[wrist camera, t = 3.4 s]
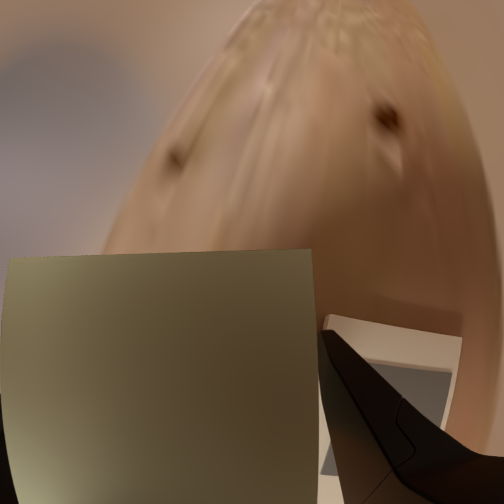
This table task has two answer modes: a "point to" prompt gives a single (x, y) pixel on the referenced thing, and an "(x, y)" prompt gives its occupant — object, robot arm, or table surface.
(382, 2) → the table surface
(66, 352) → the post
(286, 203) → the table surface
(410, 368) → the baseplate
